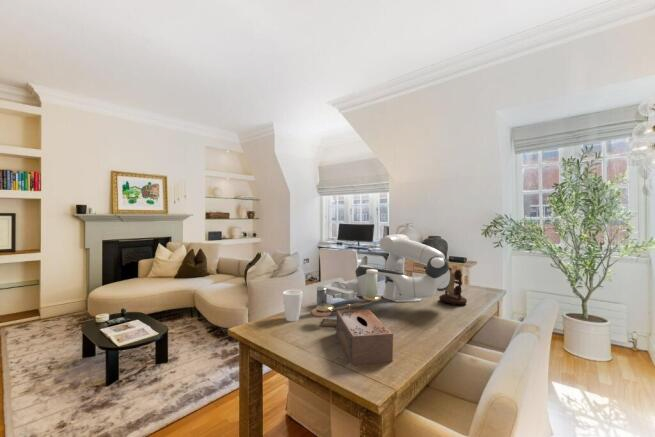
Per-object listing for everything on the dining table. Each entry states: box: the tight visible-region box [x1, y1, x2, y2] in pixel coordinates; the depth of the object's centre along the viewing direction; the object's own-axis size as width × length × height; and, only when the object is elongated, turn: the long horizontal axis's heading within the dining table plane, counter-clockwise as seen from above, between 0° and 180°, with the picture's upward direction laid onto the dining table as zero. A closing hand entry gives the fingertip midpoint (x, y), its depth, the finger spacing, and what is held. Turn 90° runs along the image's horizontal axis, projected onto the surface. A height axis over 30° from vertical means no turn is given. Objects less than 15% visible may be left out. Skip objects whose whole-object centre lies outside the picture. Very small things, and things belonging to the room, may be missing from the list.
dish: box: [311, 307, 332, 318], centre depth 146 cm, size 10×10×1 cm
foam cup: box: [282, 289, 303, 322], centre depth 138 cm, size 10×9×13 cm
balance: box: [316, 294, 381, 328], centre depth 131 cm, size 29×8×14 cm, turn 84°
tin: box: [316, 285, 328, 313], centre depth 146 cm, size 5×5×12 cm
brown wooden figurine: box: [438, 267, 468, 307], centre depth 167 cm, size 15×15×20 cm
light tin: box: [366, 269, 379, 298], centre depth 130 cm, size 5×5×12 cm
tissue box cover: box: [335, 308, 394, 366], centre depth 110 cm, size 26×14×10 cm, turn 11°
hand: (327, 294), depth 149 cm, fingers open, 8 cm apart
